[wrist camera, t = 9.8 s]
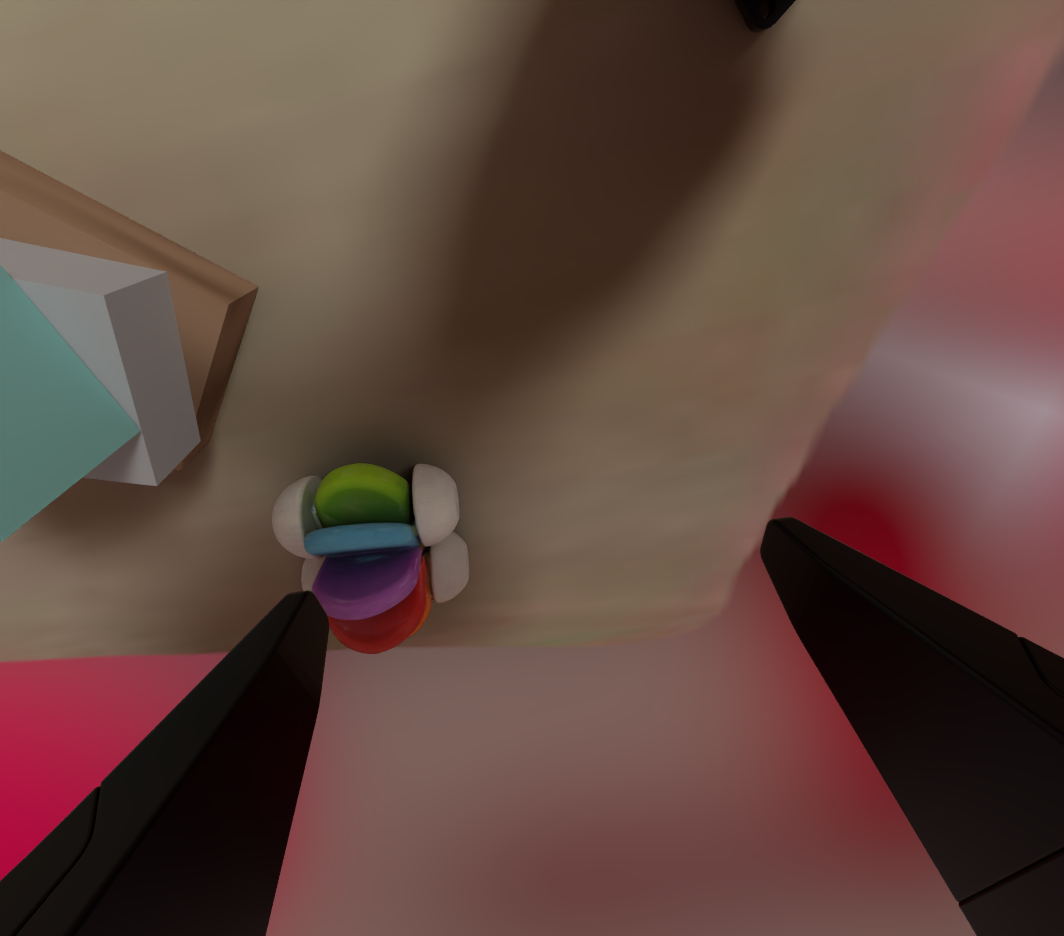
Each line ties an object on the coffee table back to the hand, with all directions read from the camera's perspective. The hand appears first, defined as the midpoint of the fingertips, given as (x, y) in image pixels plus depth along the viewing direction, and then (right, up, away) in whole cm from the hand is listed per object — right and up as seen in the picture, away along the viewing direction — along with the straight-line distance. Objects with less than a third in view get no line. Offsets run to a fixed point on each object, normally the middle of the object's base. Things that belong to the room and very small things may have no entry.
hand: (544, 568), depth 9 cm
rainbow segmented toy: (-8, -1, +16) cm, 18 cm away
